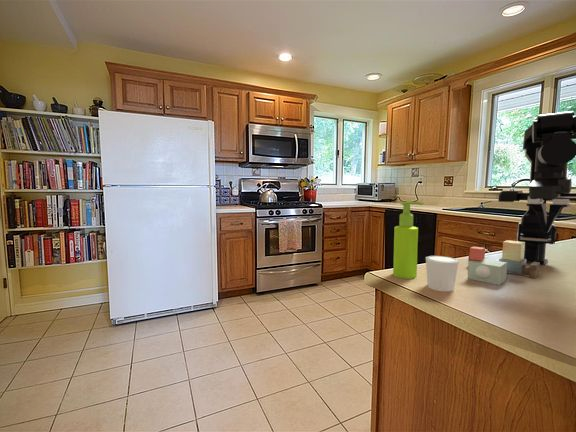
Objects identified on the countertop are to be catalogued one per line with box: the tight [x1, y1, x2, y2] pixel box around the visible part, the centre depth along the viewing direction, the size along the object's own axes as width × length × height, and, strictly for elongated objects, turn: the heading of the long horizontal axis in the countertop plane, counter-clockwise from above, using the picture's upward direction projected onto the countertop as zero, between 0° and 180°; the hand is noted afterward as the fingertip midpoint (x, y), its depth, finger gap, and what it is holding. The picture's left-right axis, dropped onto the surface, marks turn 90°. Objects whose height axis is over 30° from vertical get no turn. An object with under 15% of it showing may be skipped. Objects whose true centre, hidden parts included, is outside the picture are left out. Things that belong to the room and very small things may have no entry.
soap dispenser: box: [392, 201, 424, 279], centre depth 77 cm, size 6×7×20 cm
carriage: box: [498, 239, 528, 275], centre depth 79 cm, size 5×5×8 cm
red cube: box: [469, 246, 486, 261], centre depth 75 cm, size 3×3×3 cm
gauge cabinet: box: [467, 258, 508, 286], centre depth 74 cm, size 6×7×4 cm
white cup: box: [425, 255, 459, 293], centre depth 68 cm, size 7×7×7 cm
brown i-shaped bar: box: [467, 254, 541, 279], centre depth 81 cm, size 15×5×3 cm, turn 40°
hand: (545, 232), depth 70 cm, fingers closed
